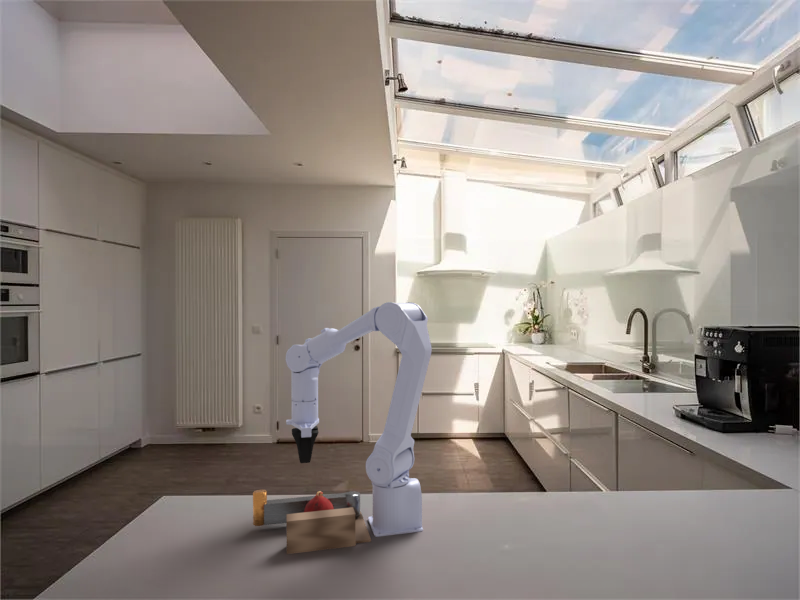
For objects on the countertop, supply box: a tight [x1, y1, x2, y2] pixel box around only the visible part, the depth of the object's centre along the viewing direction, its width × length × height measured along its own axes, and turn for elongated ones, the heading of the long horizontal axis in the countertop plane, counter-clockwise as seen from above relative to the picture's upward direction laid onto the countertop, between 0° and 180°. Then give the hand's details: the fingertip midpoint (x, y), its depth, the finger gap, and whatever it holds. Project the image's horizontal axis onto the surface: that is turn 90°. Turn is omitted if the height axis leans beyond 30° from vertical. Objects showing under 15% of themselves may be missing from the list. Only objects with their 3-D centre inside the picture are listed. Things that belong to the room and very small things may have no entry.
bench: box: [286, 507, 372, 555], centre depth 91 cm, size 15×13×6 cm
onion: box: [304, 490, 334, 512], centre depth 91 cm, size 6×6×8 cm
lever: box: [252, 488, 361, 527], centre depth 95 cm, size 21×3×6 cm, turn 103°
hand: (305, 462), depth 104 cm, fingers closed
